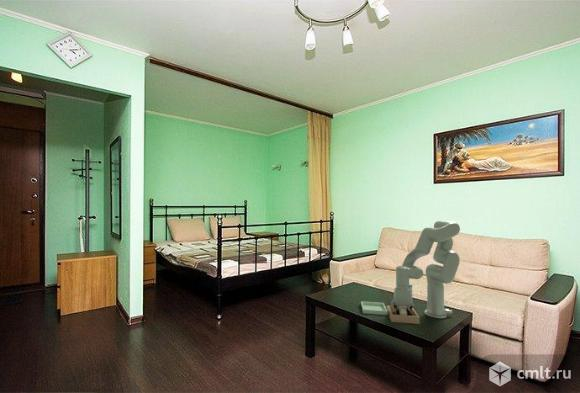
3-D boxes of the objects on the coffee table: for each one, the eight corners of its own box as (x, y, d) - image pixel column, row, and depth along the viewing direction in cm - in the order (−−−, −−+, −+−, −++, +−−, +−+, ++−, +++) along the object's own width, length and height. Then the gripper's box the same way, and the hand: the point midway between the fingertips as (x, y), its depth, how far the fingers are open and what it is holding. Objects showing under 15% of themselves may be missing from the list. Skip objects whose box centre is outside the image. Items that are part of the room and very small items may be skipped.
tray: (383, 306, 189) (383, 302, 189) (387, 315, 174) (387, 311, 174) (361, 304, 191) (361, 301, 191) (362, 313, 176) (363, 309, 177)
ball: (406, 315, 173) (406, 307, 173) (408, 318, 168) (408, 310, 168) (397, 315, 174) (397, 307, 174) (399, 318, 169) (399, 310, 169)
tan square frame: (412, 313, 177) (412, 307, 178) (419, 323, 162) (419, 317, 162) (386, 311, 180) (386, 305, 180) (391, 321, 165) (391, 314, 165)
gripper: (415, 285, 174) (415, 314, 173) (387, 284, 177) (387, 312, 176) (419, 289, 166) (419, 319, 166) (389, 287, 169) (389, 317, 169)
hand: (402, 315), depth 171 cm, fingers closed on ball, 4 cm apart
